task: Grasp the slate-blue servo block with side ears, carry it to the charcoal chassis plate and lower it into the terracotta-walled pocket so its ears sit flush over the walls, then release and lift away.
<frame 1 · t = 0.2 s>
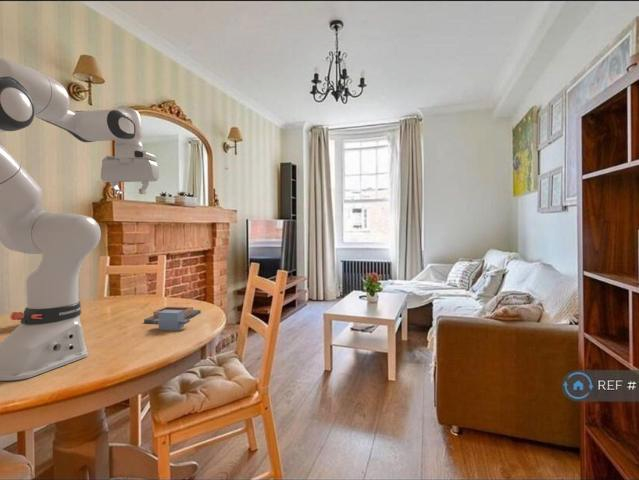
hand: (130, 194, 121), 47 cm above the table, fingers open, 8 cm apart
chassis: (173, 317, 132), on the table
servo: (171, 328, 118), on the table
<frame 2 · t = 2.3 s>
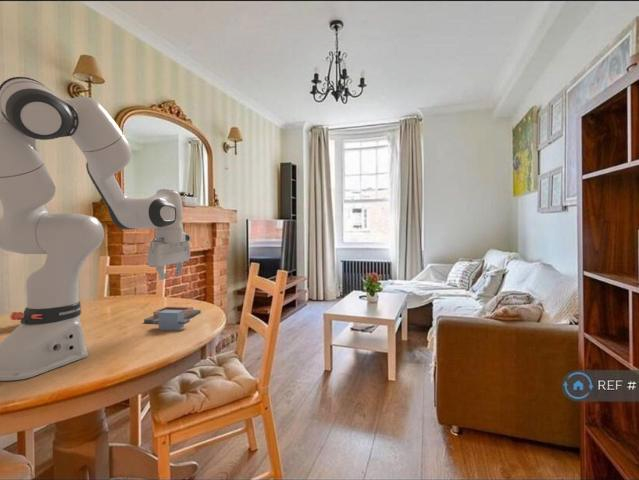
hand: (170, 277, 117), 18 cm above the table, fingers open, 8 cm apart
nothing on the table moved.
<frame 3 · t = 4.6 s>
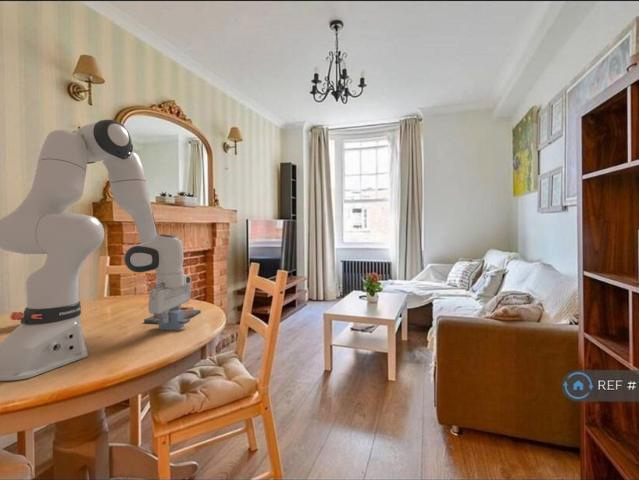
hand: (171, 320, 118), 3 cm above the table, fingers closed on servo, 4 cm apart
servo: (171, 328, 118), on the table, touching gripper
everything else where it was.
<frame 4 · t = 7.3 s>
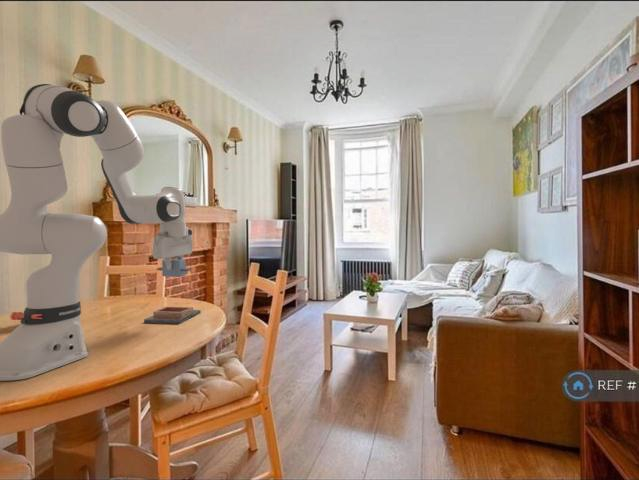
hand: (174, 268, 126), 20 cm above the table, fingers closed on servo, 4 cm apart
servo: (174, 275, 126), point 17 cm above the table, touching gripper
everything else where it was.
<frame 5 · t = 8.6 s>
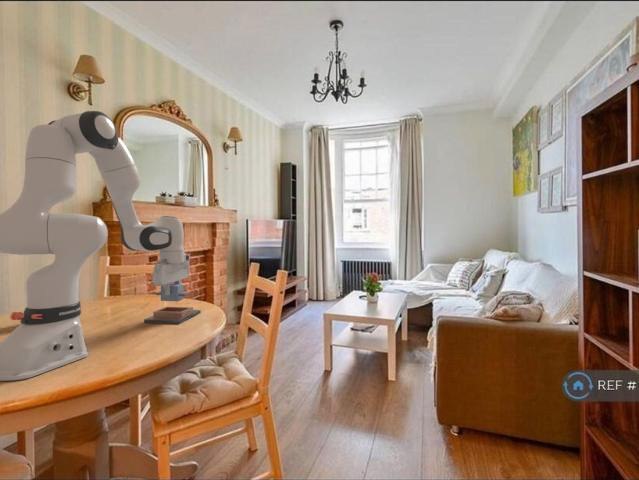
hand: (172, 293, 132), 10 cm above the table, fingers closed on servo, 4 cm apart
servo: (172, 300, 132), point 7 cm above the table, touching gripper
everything else where it was.
when the fingers open (4 cm above the table, at t = 9.9 s): servo stays where it is, resting on chassis.
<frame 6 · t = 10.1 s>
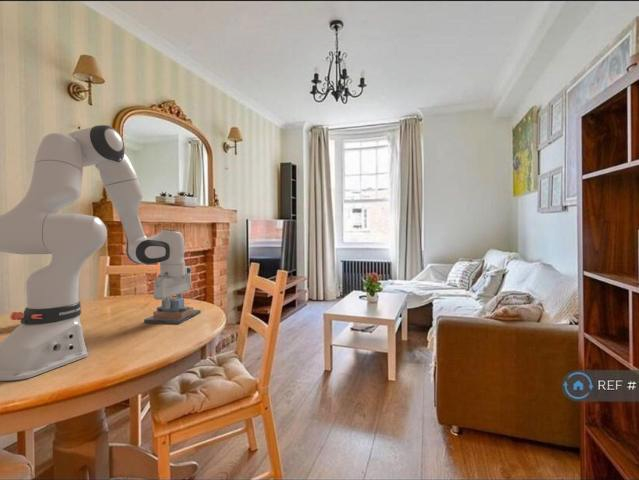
hand: (173, 306, 131), 4 cm above the table, fingers open, 5 cm apart
servo: (173, 314, 131), point 1 cm above the table, touching chassis
everything else where it was.
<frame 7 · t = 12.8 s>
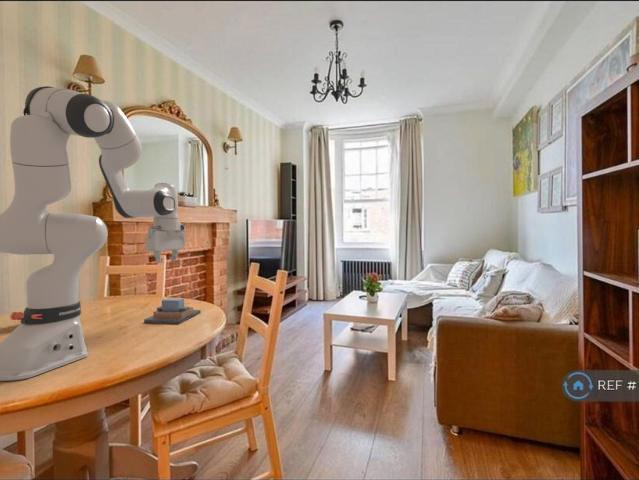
hand: (166, 262, 130), 22 cm above the table, fingers open, 8 cm apart
nothing on the table moved.
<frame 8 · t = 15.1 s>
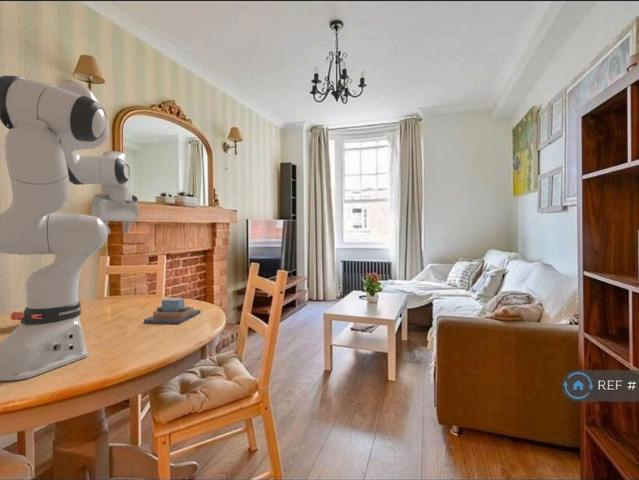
hand: (116, 233, 126), 33 cm above the table, fingers open, 8 cm apart
nothing on the table moved.
at the end: servo 0.1 cm off-centre on the chassis, point 1.2 cm above the chassis's base; servo tilted 0°; the gripper is holding nothing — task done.
